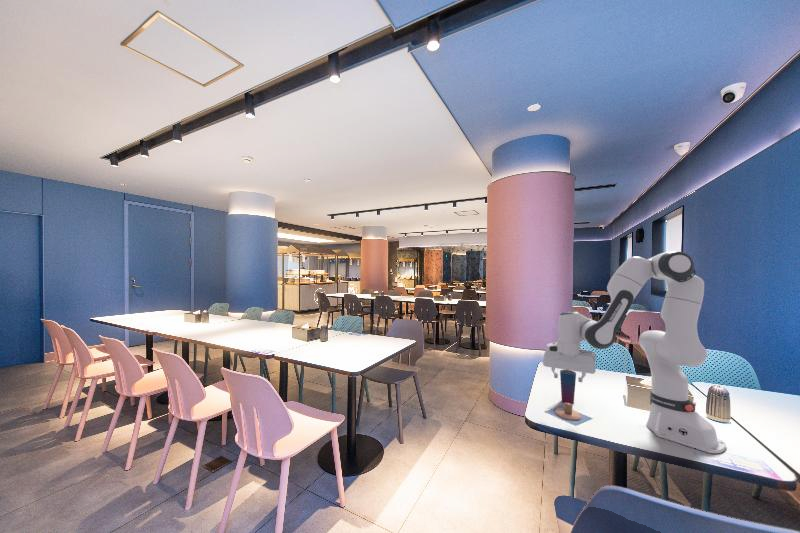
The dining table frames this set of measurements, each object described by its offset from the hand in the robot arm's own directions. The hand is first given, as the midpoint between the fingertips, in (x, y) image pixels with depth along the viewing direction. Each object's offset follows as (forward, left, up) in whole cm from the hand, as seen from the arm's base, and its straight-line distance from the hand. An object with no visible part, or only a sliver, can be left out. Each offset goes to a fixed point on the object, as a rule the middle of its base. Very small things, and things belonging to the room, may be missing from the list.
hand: (567, 379), depth 133 cm
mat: (0, 0, -16) cm, 16 cm away
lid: (0, 0, -15) cm, 15 cm away
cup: (+8, -13, -16) cm, 22 cm away
